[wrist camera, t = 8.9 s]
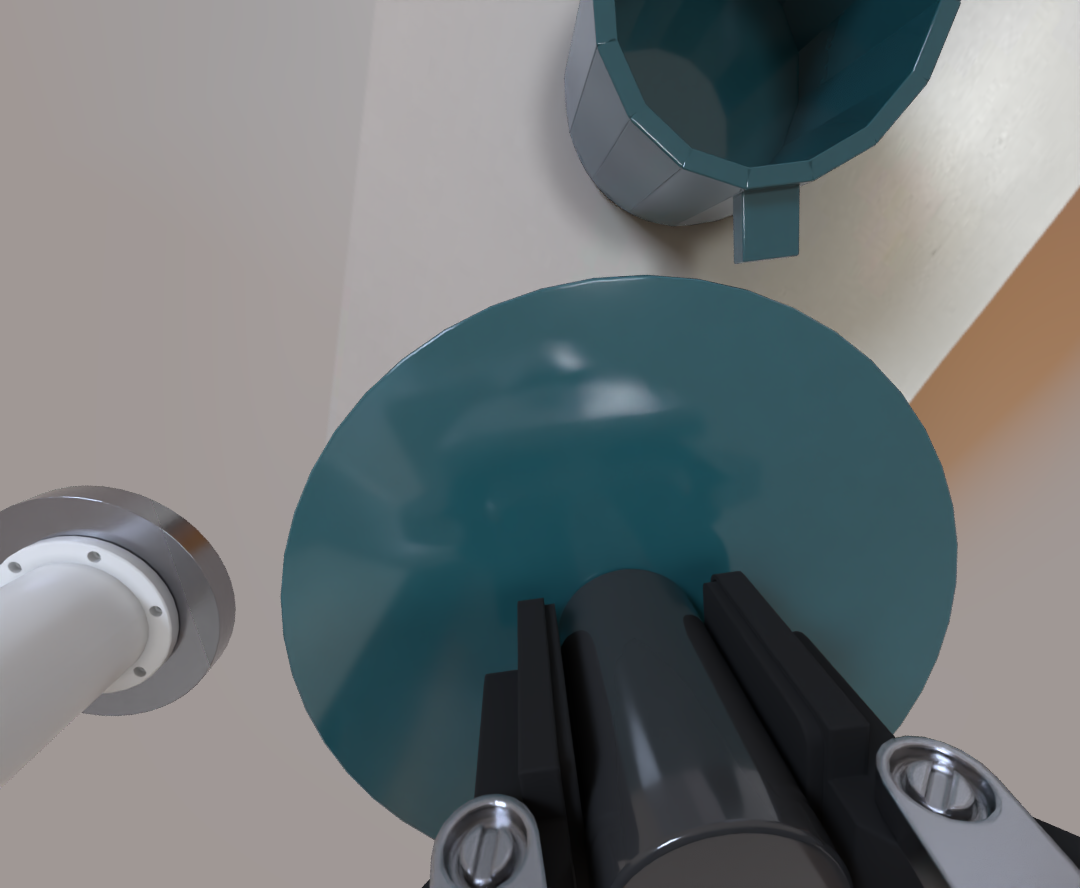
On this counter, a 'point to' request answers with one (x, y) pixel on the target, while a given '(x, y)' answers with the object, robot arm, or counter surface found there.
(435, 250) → the counter surface
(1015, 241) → the counter surface
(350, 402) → the counter surface
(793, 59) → the saucepan
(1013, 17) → the counter surface
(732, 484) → the saucepan lid
